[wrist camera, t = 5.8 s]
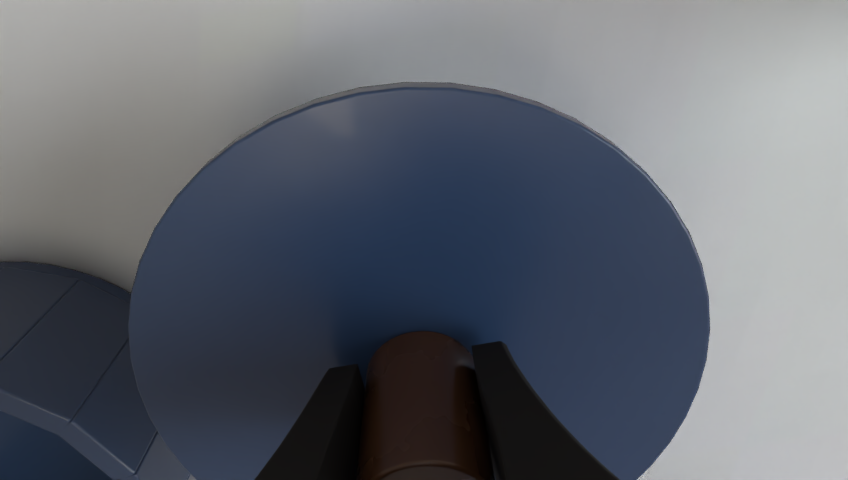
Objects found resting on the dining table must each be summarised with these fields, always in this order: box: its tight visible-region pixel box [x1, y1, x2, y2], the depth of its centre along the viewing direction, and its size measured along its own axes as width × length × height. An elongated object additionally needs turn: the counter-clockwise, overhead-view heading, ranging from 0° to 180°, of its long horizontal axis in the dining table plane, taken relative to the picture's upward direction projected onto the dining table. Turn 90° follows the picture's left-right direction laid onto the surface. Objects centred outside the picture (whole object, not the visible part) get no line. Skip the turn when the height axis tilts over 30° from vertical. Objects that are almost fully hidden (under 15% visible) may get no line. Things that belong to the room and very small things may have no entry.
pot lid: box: [128, 82, 710, 480], centre depth 12 cm, size 12×12×5 cm
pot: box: [0, 262, 196, 480], centre depth 19 cm, size 11×11×6 cm
